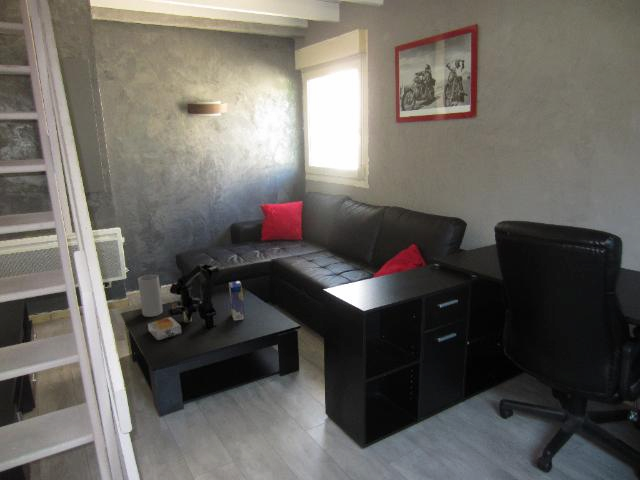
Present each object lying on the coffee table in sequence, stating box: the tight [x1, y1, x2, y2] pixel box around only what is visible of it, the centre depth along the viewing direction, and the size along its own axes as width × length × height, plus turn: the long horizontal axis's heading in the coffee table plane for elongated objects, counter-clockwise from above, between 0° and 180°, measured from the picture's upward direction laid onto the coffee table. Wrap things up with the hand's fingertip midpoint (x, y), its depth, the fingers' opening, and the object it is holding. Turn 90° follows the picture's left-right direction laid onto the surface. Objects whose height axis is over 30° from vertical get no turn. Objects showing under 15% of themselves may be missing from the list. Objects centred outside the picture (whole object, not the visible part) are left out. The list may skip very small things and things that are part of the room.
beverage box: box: [228, 280, 245, 321], centre depth 285 cm, size 7×11×22 cm, turn 18°
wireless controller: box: [171, 281, 203, 315], centre depth 301 cm, size 20×14×17 cm
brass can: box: [183, 310, 193, 324], centre depth 282 cm, size 5×5×7 cm
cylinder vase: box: [137, 274, 164, 318], centre depth 294 cm, size 12×12×25 cm
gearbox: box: [147, 316, 182, 341], centre depth 266 cm, size 19×14×7 cm
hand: (188, 319), depth 283 cm, fingers closed on brass can, 5 cm apart
